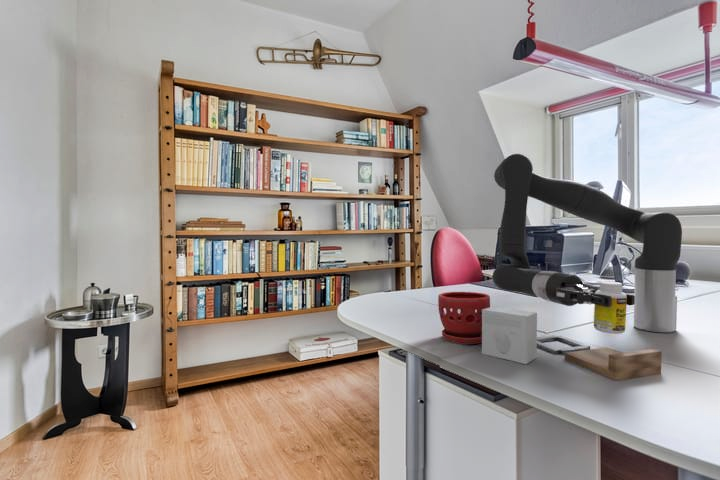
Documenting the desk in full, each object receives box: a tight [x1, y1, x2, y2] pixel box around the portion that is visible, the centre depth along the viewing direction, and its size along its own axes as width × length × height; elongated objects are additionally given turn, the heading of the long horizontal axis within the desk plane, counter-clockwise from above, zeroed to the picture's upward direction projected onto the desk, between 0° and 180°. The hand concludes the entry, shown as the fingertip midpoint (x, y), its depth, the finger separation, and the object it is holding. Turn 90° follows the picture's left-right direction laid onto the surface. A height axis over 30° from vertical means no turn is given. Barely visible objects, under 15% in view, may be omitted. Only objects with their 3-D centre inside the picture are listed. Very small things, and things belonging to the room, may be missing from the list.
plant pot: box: [437, 291, 491, 345], centre depth 98 cm, size 13×13×12 cm
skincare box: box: [481, 306, 538, 365], centre depth 86 cm, size 10×6×10 cm, turn 45°
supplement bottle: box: [593, 280, 627, 335], centre depth 79 cm, size 6×6×10 cm
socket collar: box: [537, 335, 591, 355], centre depth 92 cm, size 10×10×1 cm
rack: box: [564, 347, 662, 381], centre depth 79 cm, size 12×12×4 cm
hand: (621, 301), depth 76 cm, fingers closed on supplement bottle, 5 cm apart
